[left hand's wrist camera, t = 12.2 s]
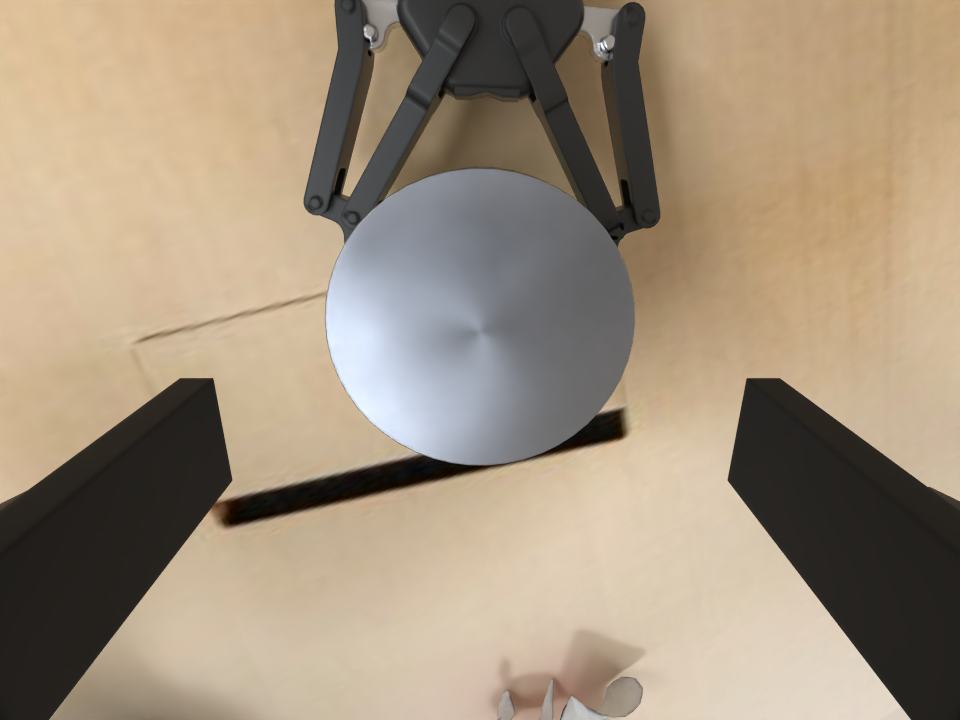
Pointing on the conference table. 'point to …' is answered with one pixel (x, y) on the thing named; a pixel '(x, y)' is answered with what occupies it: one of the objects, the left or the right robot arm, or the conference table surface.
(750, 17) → the conference table surface
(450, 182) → the lid
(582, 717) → the fish
